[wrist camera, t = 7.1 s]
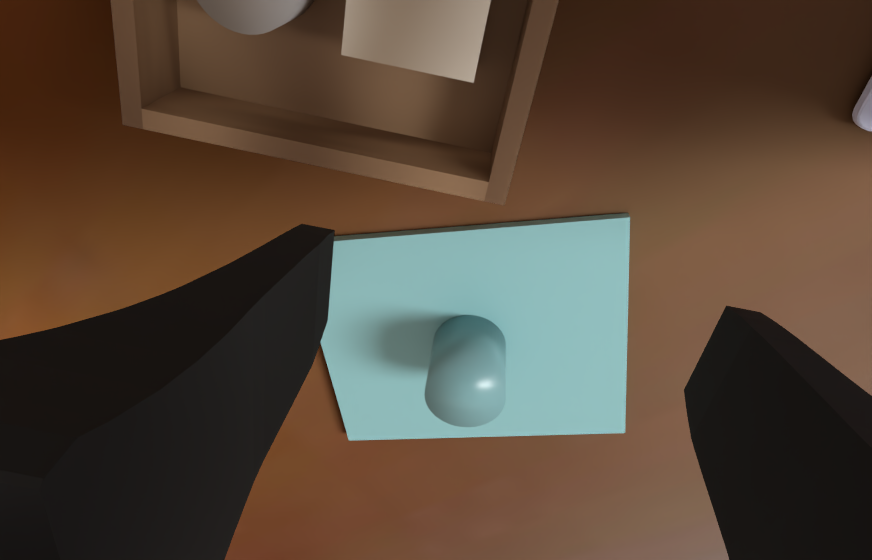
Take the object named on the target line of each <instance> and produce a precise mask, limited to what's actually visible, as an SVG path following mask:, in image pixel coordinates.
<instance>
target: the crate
mask: <svg viewBox="0 0 872 560" xmlns="http://www.w3.org/2000/svg"><path fill="white" fill-rule="evenodd" d="M558 2H559V0H111V10H112V21H113V31H114V41H115V51H116V62H117V72H118V82H119V93H120V103H121V113H122V123H123V125H126V126H130V127H135V128H140V129H144V130H149V131H154V132H159V133H163V134H168V135H173V136H178V137H182V138H187V139H192V140H196V141H201V142H206V143H211V144H215V145H220V146H225V147H230V148H234V149H239V150H244V151H249V152H253V153H258V154H263V155H267V156H272V157H277V158H282V159H286V160H291V161H296V162H301V163H305V164H310V165H315V166H319V167H324V168H329V169H334V170H338V171H343V172H348V173H353V174H357V175H362V176H367V177H371V178H376V179H381V180H386V181H390V182H395V183H400V184H405V185H409V186H414V187H419V188H423V189H428V190H433V191H438V192H442V193H447V194H452V195H457V196H461V197H466V198H471V199H476V200H480V201H485V202H490V203H494V204H499V205H504V206H505V202H506V198H507V194H508V191H509V187H510V183H511V179H512V176H513V172H514V168H515V164H516V161H517V157H518V153H519V149H520V145H521V142H522V138H523V134H524V130H525V127H526V123H527V119H528V115H529V112H530V108H531V104H532V100H533V96H534V93H535V89H536V85H537V81H538V78H539V74H540V70H541V66H542V62H543V59H544V55H545V51H546V47H547V44H548V40H549V36H550V32H551V29H552V25H553V21H554V17H555V13H556V10H557V6H558Z"/></svg>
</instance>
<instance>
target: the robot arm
mask: <svg viewBox="0 0 872 560" xmlns="http://www.w3.org/2000/svg"><path fill="white" fill-rule="evenodd" d="M852 117H853V121H854V122H855V124H856V125H857V126H859V127H861V128H863V129H865V130H867V131H872V76H871V78H870V80H869V82H868V84H867V85H866V87H865V89H864V91H863V93H862V95H861V96H860V98H859V100H858V102H857V104H856V105H855V107H854V110H853V113H852ZM334 232H335V230H331V229H326V228H320V227H315V226H310V225H305V224H301V225H299V226H297V227H295V228H293V229H291V230H289V231H287V232H285V233H284V234H282V235H280V236H278V237H277V238H275V239H273V240H271V241H270V242H268V243H266V244H264V245H263V246H261V247H259V248H257V249H255V250H253V251H252V252H250V253H248V254H246V255H244V256H242V257H241V258H239V259H237V260H235V261H233V262H231V263H229V264H227V265H225V266H223V267H221V268H219V269H217V270H215V271H213V272H211V273H209V274H207V275H204V276H202V277H200V278H198V279H196V280H194V281H192V282H190V283H188V284H186V285H183V286H181V287H179V288H176V289H174V290H172V291H169V292H167V293H164V294H162V295H159V296H156V297H154V298H151V299H148V300H145V301H143V302H140V303H137V304H134V305H132V306H129V307H126V308H123V309H120V310H117V311H113V312H110V313H106V314H103V315H99V316H96V317H92V318H89V319H85V320H82V321H78V322H75V323H71V324H68V325H64V326H61V327H57V328H53V329H49V330H45V331H40V332H36V333H31V334H27V335H23V336H18V337H13V338H8V339H3V340H0V560H224V559H225V556H226V554H227V551H228V548H229V545H230V543H231V540H232V537H233V535H234V532H235V529H236V527H237V524H238V521H239V519H240V516H241V514H242V511H243V509H244V506H245V503H246V501H247V498H248V496H249V493H250V490H251V488H252V485H253V483H254V480H255V478H256V476H257V474H258V472H259V469H260V467H261V465H262V463H263V461H264V459H265V457H266V455H267V453H268V451H269V449H270V447H271V445H272V443H273V441H274V439H275V437H276V435H277V433H278V431H279V429H280V427H281V425H282V424H283V422H284V420H285V418H286V416H287V414H288V412H289V410H290V408H291V406H292V404H293V402H294V400H295V398H296V396H297V394H298V392H299V390H300V388H301V386H302V384H303V382H304V380H305V378H306V376H307V374H308V372H309V370H310V368H311V366H312V364H313V362H314V359H315V356H316V353H317V351H318V348H319V345H320V342H321V339H322V336H323V333H324V330H325V327H326V324H327V321H328V311H329V298H330V285H331V272H332V259H333V246H334ZM684 393H685V401H686V409H687V416H688V422H689V428H690V433H691V439H692V442H693V446H694V449H695V452H696V456H697V459H698V462H699V465H700V468H701V472H702V475H703V478H704V481H705V484H706V487H707V490H708V494H709V497H710V500H711V503H712V506H713V509H714V512H715V515H716V518H717V521H718V525H719V528H720V531H721V534H722V537H723V540H724V543H725V546H726V549H727V553H728V556H729V560H872V396H871V395H870V394H868V393H867V392H866V391H864V390H863V389H862V388H860V387H859V386H858V385H857V384H855V383H854V382H853V381H851V380H850V379H849V378H848V377H846V376H845V375H844V374H842V373H841V372H840V371H839V370H837V369H836V368H835V367H833V366H832V365H831V364H830V363H828V362H827V361H826V360H825V359H823V358H822V357H821V356H820V355H818V354H817V353H816V352H814V351H813V350H812V349H811V348H809V347H808V346H807V345H806V344H804V343H803V342H802V341H800V340H799V339H798V338H797V337H795V336H794V335H793V334H791V333H790V332H789V331H787V330H786V329H785V328H783V327H782V326H780V325H779V324H778V323H776V322H775V321H773V320H772V319H770V318H769V317H767V316H765V315H764V314H762V313H760V312H756V311H751V310H746V309H740V308H735V307H730V306H726V307H725V309H724V311H723V313H722V315H721V317H720V319H719V321H718V323H717V325H716V327H715V329H714V331H713V333H712V335H711V337H710V339H709V341H708V343H707V345H706V347H705V349H704V351H703V353H702V355H701V357H700V359H699V361H698V363H697V365H696V367H695V369H694V371H693V373H692V375H691V377H690V379H689V381H688V383H687V385H686V387H685V389H684Z"/></svg>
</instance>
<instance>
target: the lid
mask: <svg viewBox="0 0 872 560" xmlns="http://www.w3.org/2000/svg"><path fill="white" fill-rule="evenodd" d="M629 238H630V216H629V214H628V213H621V214H608V215H595V216H583V217H570V218H558V219H545V220H532V221H520V222H507V223H495V224H482V225H470V226H457V227H444V228H432V229H419V230H407V231H394V232H381V233H369V234H356V235H344V236H334V246H333V259H332V272H331V285H330V298H329V311H328V321H327V324H326V327H325V330H324V333H323V336H322V339H321V346H322V349H323V352H324V356H325V359H326V363H327V366H328V370H329V373H330V377H331V380H332V384H333V387H334V390H335V394H336V397H337V401H338V404H339V408H340V411H341V415H342V418H343V422H344V425H345V428H346V432H347V435H348V439H349V440H385V439H421V438H458V437H495V436H531V435H568V434H605V433H625V413H626V369H627V326H628V282H629Z"/></svg>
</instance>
